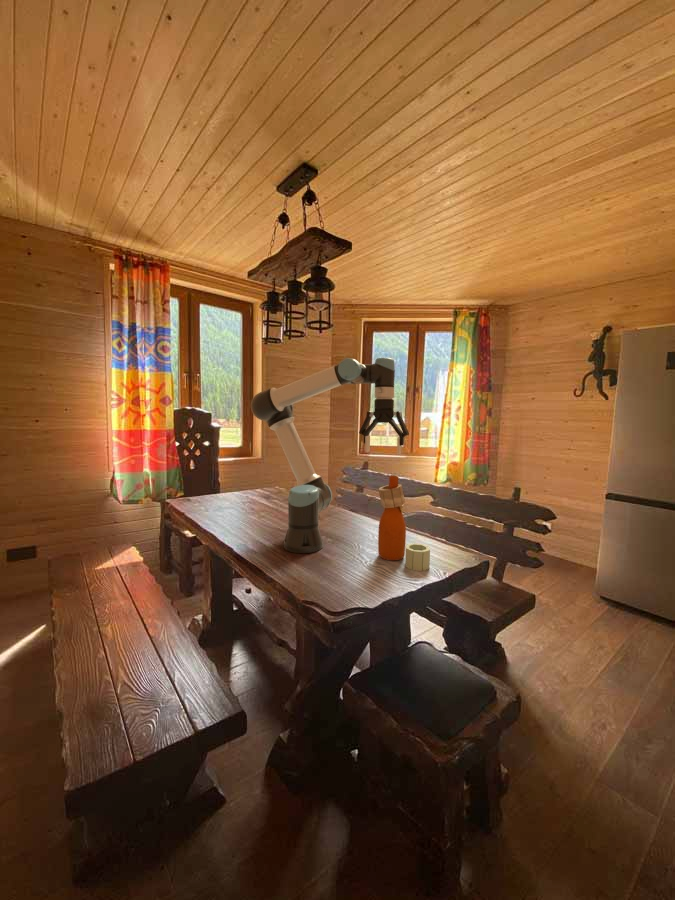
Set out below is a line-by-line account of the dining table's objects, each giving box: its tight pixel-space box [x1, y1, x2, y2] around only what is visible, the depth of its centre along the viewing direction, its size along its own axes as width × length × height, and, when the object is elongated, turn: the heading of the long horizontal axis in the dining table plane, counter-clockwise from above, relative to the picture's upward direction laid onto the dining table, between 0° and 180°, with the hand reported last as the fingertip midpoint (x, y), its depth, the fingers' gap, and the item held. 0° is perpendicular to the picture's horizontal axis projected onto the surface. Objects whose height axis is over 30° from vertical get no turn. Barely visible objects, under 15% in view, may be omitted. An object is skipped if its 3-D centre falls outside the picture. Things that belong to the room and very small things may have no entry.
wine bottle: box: [377, 475, 407, 561], centre depth 135 cm, size 10×10×30 cm
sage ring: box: [404, 542, 431, 572], centre depth 128 cm, size 8×8×6 cm
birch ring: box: [378, 483, 406, 509], centre depth 134 cm, size 8×8×6 cm
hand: (382, 453), depth 147 cm, fingers open, 13 cm apart
